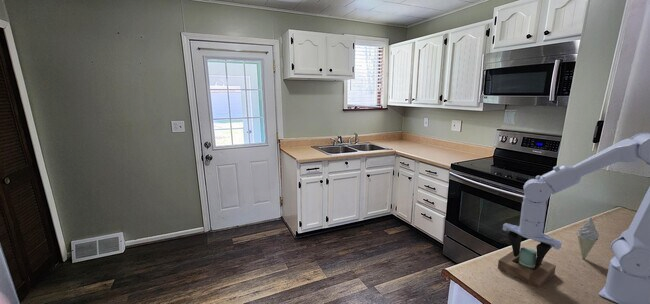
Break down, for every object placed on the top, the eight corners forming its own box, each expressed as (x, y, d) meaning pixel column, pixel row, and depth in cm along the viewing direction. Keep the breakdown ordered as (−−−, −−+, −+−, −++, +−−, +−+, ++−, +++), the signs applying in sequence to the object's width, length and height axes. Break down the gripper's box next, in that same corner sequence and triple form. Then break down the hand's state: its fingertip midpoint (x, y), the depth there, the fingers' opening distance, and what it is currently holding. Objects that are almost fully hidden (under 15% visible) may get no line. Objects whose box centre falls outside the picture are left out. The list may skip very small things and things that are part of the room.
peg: (536, 272, 83) (539, 251, 82) (530, 277, 81) (533, 256, 80) (521, 265, 87) (523, 245, 85) (515, 270, 85) (517, 250, 83)
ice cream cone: (598, 264, 87) (606, 220, 84) (579, 262, 88) (587, 219, 85) (586, 255, 92) (593, 214, 89) (569, 254, 93) (576, 213, 90)
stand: (554, 274, 82) (555, 265, 82) (538, 287, 77) (540, 278, 76) (514, 257, 91) (515, 249, 91) (497, 268, 86) (498, 259, 85)
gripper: (568, 224, 77) (561, 267, 79) (511, 208, 89) (507, 245, 91) (558, 231, 73) (551, 275, 76) (501, 213, 85) (497, 252, 88)
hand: (527, 259), depth 83 cm, fingers open, 5 cm apart
